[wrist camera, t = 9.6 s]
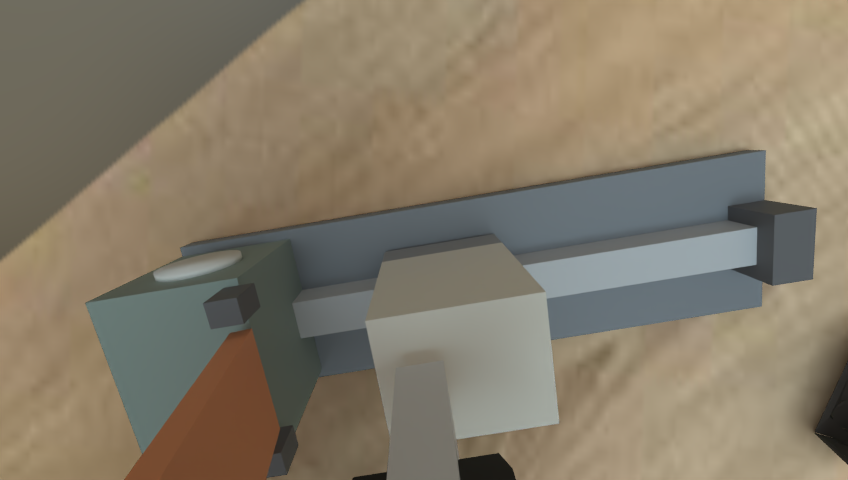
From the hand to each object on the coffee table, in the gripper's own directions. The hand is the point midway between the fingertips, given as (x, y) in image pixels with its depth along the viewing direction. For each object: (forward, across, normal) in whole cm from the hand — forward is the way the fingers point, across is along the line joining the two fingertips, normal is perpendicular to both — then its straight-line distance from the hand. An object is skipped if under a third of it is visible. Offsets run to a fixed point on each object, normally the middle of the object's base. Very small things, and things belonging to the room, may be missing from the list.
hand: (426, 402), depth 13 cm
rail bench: (+12, +3, 0) cm, 12 cm away
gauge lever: (+3, -7, 0) cm, 7 cm away
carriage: (+10, +1, 0) cm, 10 cm away
